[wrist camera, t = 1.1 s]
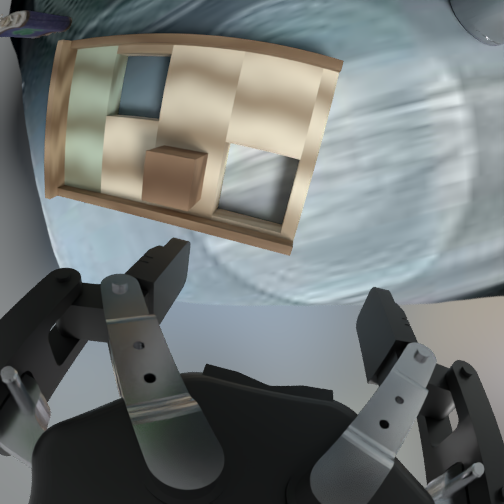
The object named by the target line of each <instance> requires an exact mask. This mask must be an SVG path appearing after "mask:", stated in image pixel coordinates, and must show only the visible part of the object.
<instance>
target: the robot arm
mask: <svg viewBox="0 0 504 504" xmlns="http://www.w3.org/2000/svg"><path fill="white" fill-rule="evenodd" d="M450 3H451V6H452V9H453V11H454V13H455V15H456V17H457V18H458V20H459V21H460V23H461V24H462V25H463V26H464V27H465V29H466V30H467V31H468V32H469V33H470V34H471V35H472V36H474V37H475V38H476V39H478V40H479V41H481V42H483V43H485V44H488V45H492V46H497V45H502V44H504V0H450ZM189 254H190V242H189V241H185V240H181V239H177V238H172V239H171V240H170V241H169V242H168V243H167V244H166V245H165V246H164V247H163V246H156V247H154V248H151V249H149V250H148V251H147V252H146V253H145V254H144V256H142V257H141V258H140V259H139V261H137V262H136V263H135V264H134V265H133V266H132V267H131V268H130V269H129V270H128V271H127V272H126V273H125V274H114V275H110V276H108V277H106V278H104V279H103V280H102V282H101V284H90V283H82V281H81V275H80V273H79V272H78V271H77V270H75V269H71V268H60V269H56V270H54V271H52V272H51V273H49V274H48V275H47V276H46V277H45V278H44V279H42V280H41V281H40V282H39V283H38V284H37V285H36V286H35V287H34V288H32V289H31V290H30V291H29V292H28V293H27V294H26V295H25V296H24V297H23V298H22V299H21V300H20V301H19V302H18V303H17V304H15V306H13V307H12V309H10V310H9V311H8V312H7V313H6V314H5V315H4V316H3V317H2V318H1V319H0V454H1V455H4V456H11V455H12V456H13V457H15V458H16V459H18V460H19V461H21V462H22V463H24V464H25V465H27V466H28V467H30V468H31V469H32V487H31V495H30V500H29V504H504V443H503V440H502V437H501V434H500V430H499V428H498V425H497V422H496V419H495V416H494V414H493V411H492V408H491V405H490V403H489V400H488V398H487V396H486V393H485V390H484V388H483V386H482V383H481V381H480V379H479V377H478V374H477V372H476V371H475V369H474V368H473V367H472V366H471V365H470V364H468V363H467V362H465V361H461V360H457V361H455V362H454V363H453V364H452V366H451V367H450V368H447V367H444V366H441V365H439V364H436V362H437V361H436V357H435V355H434V353H433V352H432V351H431V350H430V349H429V348H428V347H426V346H425V345H423V344H420V343H418V342H417V340H416V337H415V335H414V333H413V330H412V328H411V326H410V324H409V322H408V320H407V317H406V315H405V313H404V311H403V310H402V309H401V308H400V306H399V305H398V304H397V303H395V302H394V299H393V297H392V295H391V293H390V291H389V290H385V289H380V288H376V287H373V288H372V289H371V290H370V292H369V294H368V296H367V299H366V301H365V303H364V305H363V307H362V309H361V311H360V314H359V316H358V319H357V324H356V329H357V334H358V338H359V343H360V348H361V352H362V357H363V362H364V367H365V372H366V377H367V383H368V384H377V385H379V388H378V389H377V391H376V392H375V393H374V394H373V396H372V397H371V398H370V400H369V401H368V402H367V404H366V405H365V406H364V408H363V409H362V410H361V411H360V413H359V414H358V415H357V414H356V413H355V412H354V411H353V410H351V409H350V408H349V407H347V406H345V405H343V404H342V403H339V402H337V401H335V400H333V391H332V390H327V389H320V388H314V387H308V386H269V385H266V384H264V383H262V382H259V381H257V380H255V379H252V378H250V377H248V376H246V375H243V374H241V373H239V372H236V371H232V370H228V369H224V368H221V367H217V366H213V365H209V364H206V365H205V368H204V371H203V373H202V372H188V373H181V374H180V373H179V371H178V369H177V366H176V364H175V362H174V360H173V357H172V355H171V353H170V350H169V348H168V345H167V343H166V341H165V338H164V336H163V333H162V331H161V328H160V326H159V325H160V323H161V322H162V320H163V319H164V317H165V315H166V314H167V312H168V310H169V309H170V307H171V306H172V304H173V302H174V301H175V299H176V298H177V296H178V295H179V293H180V291H181V290H182V288H183V287H184V284H185V281H186V278H187V272H188V262H189ZM55 323H56V325H55V326H54V327H53V328H52V326H53V325H54V324H55ZM51 328H52V330H51V331H50V329H51ZM88 340H90V341H99V342H107V343H108V347H109V353H110V357H111V362H112V366H113V371H114V375H115V379H116V383H117V388H118V392H119V395H120V399H117V400H115V401H113V402H110V403H108V404H105V405H103V406H100V407H98V408H96V409H93V410H91V411H88V412H86V413H83V414H80V415H78V416H75V417H73V418H70V419H67V420H65V421H62V422H59V423H57V424H55V425H53V426H51V427H50V428H48V429H47V427H48V423H49V420H50V416H51V411H50V407H49V405H48V403H47V402H48V401H49V399H50V397H51V396H52V394H53V393H54V391H55V389H56V388H57V386H58V385H59V383H60V381H61V380H62V378H63V377H64V375H65V374H66V372H67V371H68V369H69V368H70V366H71V365H72V363H73V362H74V360H75V359H76V357H77V356H78V354H79V353H80V351H81V350H82V349H83V347H84V346H85V344H86V343H87V341H88ZM455 408H456V411H457V414H458V418H459V422H458V426H457V428H456V429H455V430H454V431H453V432H452V428H451V424H450V420H449V416H448V415H449V414H450V413H451V412H452V411H453V409H455ZM416 417H417V422H418V427H419V432H420V438H421V444H422V450H423V457H424V463H425V471H426V480H427V487H426V488H424V487H423V486H422V485H421V484H420V483H419V482H418V481H417V480H416V478H415V477H414V476H413V475H412V474H411V473H410V472H409V471H408V470H407V469H406V468H405V467H404V465H403V464H402V463H401V462H400V461H399V460H398V459H397V458H396V457H395V456H396V454H397V452H398V450H399V449H400V447H401V445H402V444H403V442H404V440H405V438H406V437H407V435H408V433H409V431H410V429H411V427H412V425H413V423H414V421H415V419H416Z"/></svg>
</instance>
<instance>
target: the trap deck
mask: <svg viewBox="0 0 504 504" xmlns="http://www.w3.org/2000/svg"><path fill="white" fill-rule="evenodd" d="M128 56H167V57H171V60H170V64H169V69H168V74H167V79H166V84H165V89H164V94H163V100H162V106H161V111H160V118H159V119H156V118H147V117H138V116H128V115H118V112H119V105H120V98H121V92H122V86H123V80H124V75H125V69H126V64H127V60H128ZM342 65H343V61H342V60H339V59H335V58H332V57H328V56H325V55H321V54H317V53H313V52H309V51H305V50H301V49H297V48H292V47H288V46H283V45H278V44H272V43H267V42H261V41H255V40H248V39H240V38H232V37H223V36H212V35H198V34H172V33H155V34H128V35H115V36H104V37H95V38H88V39H81V40H74V41H69V40H60V41H58V44H57V48H56V53H55V58H54V63H53V69H52V75H51V82H50V89H49V97H48V106H47V116H46V130H45V158H44V173H45V198H48V199H51V198H53V197H55V196H62V197H66V198H70V199H73V200H77V201H81V202H85V203H89V204H93V205H97V206H101V207H105V208H109V209H113V210H117V211H121V212H125V213H129V214H132V215H136V216H140V217H144V218H148V219H152V220H156V221H160V222H163V223H167V224H171V225H175V226H179V227H183V228H187V229H190V230H194V231H198V232H202V233H206V234H210V235H213V236H217V237H221V238H225V239H229V240H233V241H236V242H240V243H244V244H248V245H252V246H255V247H259V248H263V249H267V250H270V251H274V252H278V253H282V254H286V255H289V256H290V254H291V251H292V247H293V240H294V236H295V233H296V230H297V226H298V223H299V220H300V216H301V213H302V209H303V206H304V202H305V199H306V196H307V192H308V189H309V185H310V182H311V178H312V174H313V171H314V167H315V164H316V160H317V156H318V153H319V149H320V145H321V142H322V138H323V134H324V130H325V127H326V123H327V119H328V115H329V111H330V107H331V103H332V99H333V95H334V91H335V87H336V83H337V79H338V75H339V72H340V71H341V69H342ZM230 143H232V144H237V145H242V146H246V147H251V148H255V149H259V150H264V151H268V152H272V153H276V154H280V155H284V156H288V157H292V158H295V159H299V163H298V167H297V171H296V175H295V178H294V182H293V186H292V190H291V193H290V197H289V201H288V204H287V208H286V212H285V215H284V219H283V223H282V225H281V224H278V223H274V222H270V221H266V220H262V219H258V218H255V217H251V216H247V215H243V214H239V213H235V212H231V211H227V210H223V209H219V208H218V205H219V199H220V194H221V189H222V183H223V178H224V173H225V168H226V162H227V157H228V152H229V147H230ZM163 145H165V146H171V147H177V148H182V149H188V150H193V151H198V152H203V153H208V158H207V164H206V170H205V176H204V182H203V188H202V194H201V199H200V200H199V201H198V202H197V203H196V204H195V205H194V206H193V207H192V208H191V209H190V210H189V211H184V210H180V209H175V208H171V207H167V206H163V205H159V204H155V203H151V202H146V201H142V200H141V197H142V185H143V174H144V164H145V155H146V151H147V150H150V149H153V148H156V147H160V146H163Z"/></svg>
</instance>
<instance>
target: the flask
mask: <svg viewBox="0 0 504 504" xmlns="http://www.w3.org/2000/svg"><path fill="white" fill-rule="evenodd" d="M2 16H3V14H1V15H0V37H24V38H40V36H43V35H44V36H46V35H47V36H48V35H50V34H51V33H54V34H55V33H56V32H59V33H60V32H65V31H67V30H68V29H69V28H70V26H71V23H72V18H71V17H67V16H59V15H53V14H47V13H40V12H33V11H27V10H24V11H17V12H14V13H11V14H9V15H8V16H6V17H4V18H2Z"/></svg>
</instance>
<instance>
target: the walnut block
mask: <svg viewBox="0 0 504 504" xmlns="http://www.w3.org/2000/svg"><path fill="white" fill-rule="evenodd" d="M207 158H208V153H203V152H198V151H193V150H188V149H182V148H177V147H171V146H165V145H163V146H160V147H156V148H153V149H150V150H147V151H146V155H145V164H144V174H143V185H142V197H141V200H142V201H146V202H151V203H155V204H159V205H163V206H167V207H171V208H175V209H180V210H184V211H189V210H190V209H191V208H192V207H193V206H194V205H195V204H196V203H197V202H198V201H199V200H200V199H201V194H202V188H203V182H204V176H205V170H206V164H207Z"/></svg>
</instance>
